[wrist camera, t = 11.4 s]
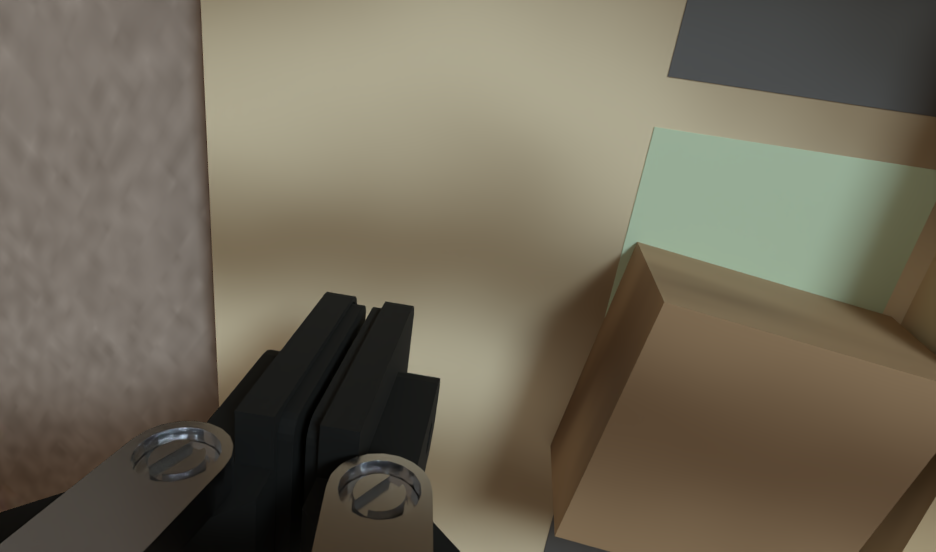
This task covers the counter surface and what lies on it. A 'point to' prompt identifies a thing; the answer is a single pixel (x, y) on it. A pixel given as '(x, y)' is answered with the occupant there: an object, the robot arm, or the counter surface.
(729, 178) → the green pad
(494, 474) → the board
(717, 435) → the block
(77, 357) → the counter surface
